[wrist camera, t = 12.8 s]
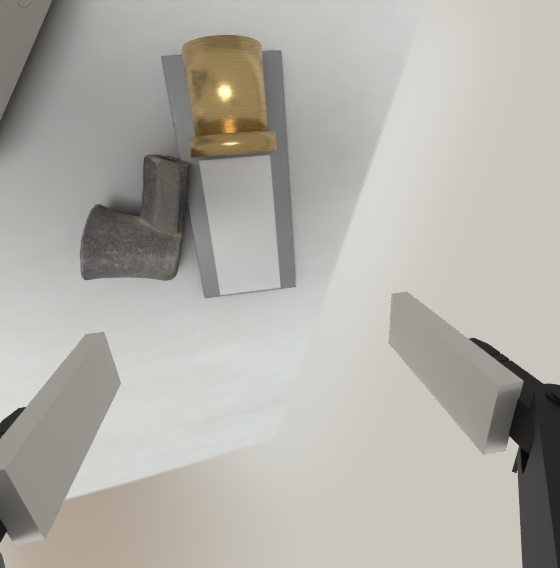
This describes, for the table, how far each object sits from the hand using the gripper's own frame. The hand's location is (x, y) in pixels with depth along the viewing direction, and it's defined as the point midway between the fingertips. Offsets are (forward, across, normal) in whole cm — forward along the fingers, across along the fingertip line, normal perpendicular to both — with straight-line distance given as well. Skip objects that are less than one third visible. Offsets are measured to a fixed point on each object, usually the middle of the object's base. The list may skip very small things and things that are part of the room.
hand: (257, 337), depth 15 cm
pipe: (+18, -5, +1) cm, 19 cm away
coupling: (+21, 0, +12) cm, 24 cm away
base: (+21, 0, +5) cm, 21 cm away
